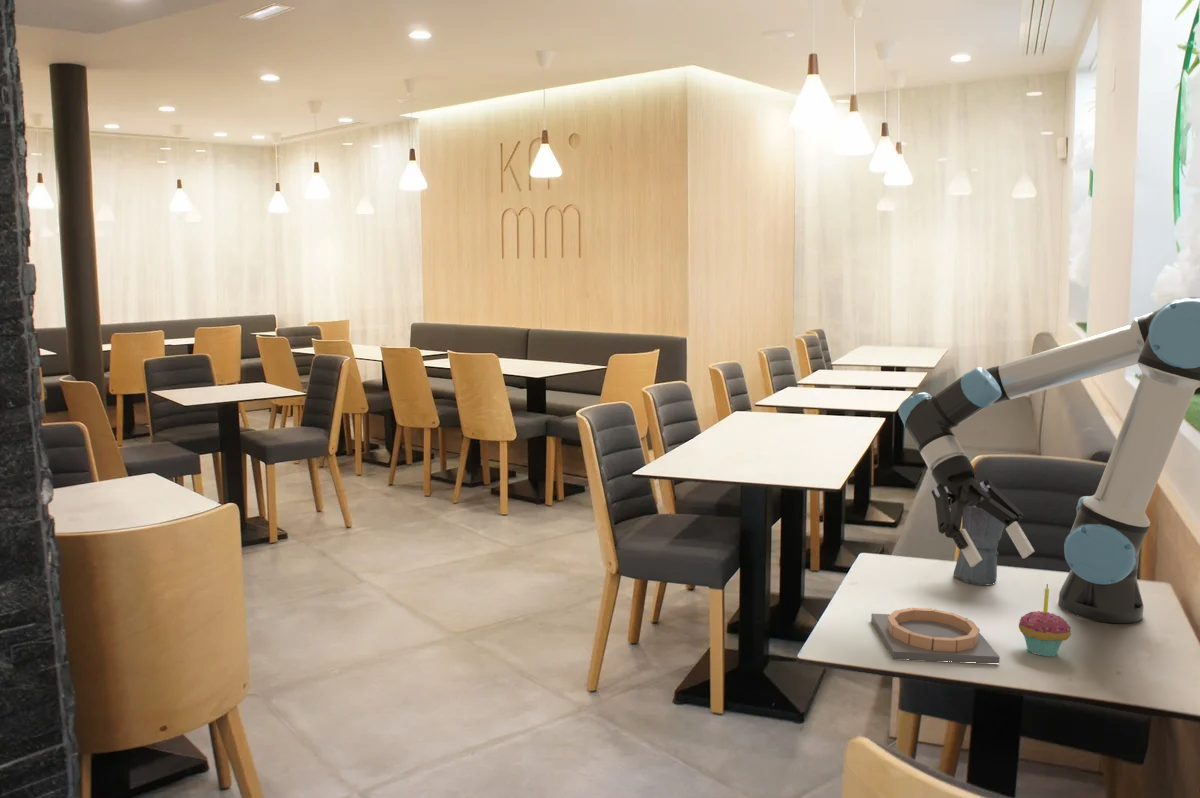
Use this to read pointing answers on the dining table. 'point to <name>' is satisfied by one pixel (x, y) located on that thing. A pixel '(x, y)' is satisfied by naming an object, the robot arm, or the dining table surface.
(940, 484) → the robot arm
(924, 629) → the ring dish
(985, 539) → the moka pot
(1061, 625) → the cupcake
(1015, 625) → the dining table surface
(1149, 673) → the dining table surface
